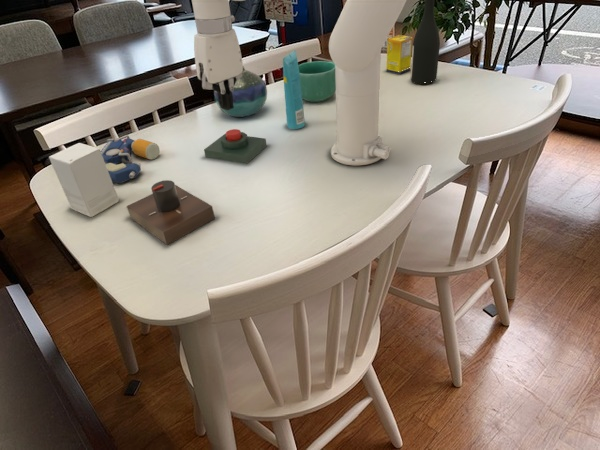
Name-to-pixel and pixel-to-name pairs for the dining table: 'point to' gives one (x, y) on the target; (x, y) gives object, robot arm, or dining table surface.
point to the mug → (317, 80)
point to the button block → (236, 148)
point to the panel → (171, 216)
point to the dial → (165, 196)
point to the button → (233, 135)
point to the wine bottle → (425, 48)
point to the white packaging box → (84, 179)
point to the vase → (246, 95)
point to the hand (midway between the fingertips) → (227, 108)
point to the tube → (293, 92)
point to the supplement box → (399, 54)
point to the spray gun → (126, 157)
